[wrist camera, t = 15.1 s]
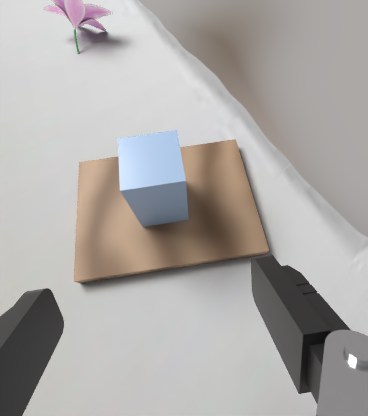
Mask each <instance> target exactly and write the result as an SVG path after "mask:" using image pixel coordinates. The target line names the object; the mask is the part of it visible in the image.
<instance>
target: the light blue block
mask: <svg viewBox="0 0 368 416" xmlns="http://www.w3.org/2000/svg"><path fill="white" fill-rule="evenodd" d="M118 157H119V181H120V192H121V193H122V195H123V197H124V198H125V200H126V201H127V203H128V205H129V206H130V208H131V209H132V211H133V213H134V214H135V216H136V217H137V219H138V221H139V222H140V224H141V225H142V227H146V226H153V225H159V224H165V223H172V222H178V221H185V220H189V218H188V204H187V190H186V179H185V173H184V168H183V162H182V156H181V151H180V145H179V139H178V134H177V130H174V131H167V132H160V133H153V134H147V135H140V136H133V137H126V138H120V139H118Z"/></svg>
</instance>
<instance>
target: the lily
mask: <svg viewBox="0 0 368 416" xmlns="http://www.w3.org/2000/svg"><path fill="white" fill-rule="evenodd" d="M52 1H53V2H54V3H55V5H49V6H47V7H45V8H44V10H46V11H50V12H54V13H57V14H61V15H64V16H66V17H67V18H68V19H69V21H70V22H71V23H72V25H73V27H74V36H75V43H76V48H77V52H78V54H79V49H78V45H77V39H76V27H77V26H78V27H81V26H83V25H84V24H89V25H91V26H94V27H96V28H98V29H101V30H103V31H105V32H107V31H106V29H105V28H104V27H103V26H102V25H101V24H100V23H99V22H98V21H96V20H95V19H98V18H100V17H102V16H106V15H111V14H113V13H112V12H111V11H109V10H107V9H105V8H102V7H100V6H97V5H93V4H83V2H82V1H81V0H52Z"/></svg>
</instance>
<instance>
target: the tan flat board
mask: <svg viewBox="0 0 368 416" xmlns="http://www.w3.org/2000/svg"><path fill="white" fill-rule="evenodd" d="M180 151H181V156H182V162H183V168H184V173H185V179H186V190H187V204H188V218H189V220H185V221H178V222H172V223H165V224H159V225H153V226H146V227H142V225H141V224H140V222H139V221H138V219H137V217H136V216H135V214H134V213H133V211H132V209H131V208H130V206H129V205H128V203H127V201H126V200H125V198H124V197H123V195H122V193H121V192H120V181H119V157H112V158H106V159H99V160H92V161H85V162H79V179H78V201H77V222H76V244H75V265H74V282H78V283H83V282H89V281H96V280H102V279H109V278H115V277H121V276H128V275H134V274H140V273H147V272H153V271H160V270H166V269H172V268H179V267H185V266H191V265H198V264H204V263H210V262H217V261H223V260H230V259H236V258H242V257H249V256H255V255H261V254H266V253H267V252H269V248H268V245H267V241H266V238H265V235H264V231H263V228H262V225H261V222H260V218H259V215H258V212H257V208H256V205H255V202H254V198H253V195H252V192H251V188H250V185H249V182H248V178H247V175H246V172H245V168H244V165H243V162H242V159H241V155H240V152H239V149H238V145H237V142H236V139H235V140H228V141H221V142H214V143H208V144H201V145H194V146H187V147H180Z"/></svg>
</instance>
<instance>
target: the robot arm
mask: <svg viewBox="0 0 368 416" xmlns="http://www.w3.org/2000/svg"><path fill="white" fill-rule="evenodd" d="M251 274H252V292H253V297H254V301H255V303H256V306H257V308H258V310H259V312H260V314H261V316H262V318H263V320H264V322H265V324H266V327H267V329H268V331H269V333H270V335H271V337H272V339H273V341H274V343H275V345H276V347H277V349H278V351H279V353H280V356H281V358H282V360H283V362H284V364H285V366H286V368H287V370H288V372H289V374H290V376H291V378H292V380H293V383H294V385H295V387H296V389H297V391H298V393H299V394H301V393H307V392H311V393H312V395H313V397H314V399H315V401H316V402H317V404H318V405H317V414H316V416H368V336H366V335H364V334H362V333H359V332H355V331H351V330H350V329H349V328H348V326H347V325H346V324H345V323H344V322H343V321H342V320H341V318H340V317H339V316H338V315H337V314H336V313H335V312H334V310H333V309H332V308H331V307H330V306H329V305H328V304H327V302H326V301H325V300H324V299H323V298H322V297H321V296H320V294H319V293H317V291H316V290H315V289H314V288H313V286H312V285H310V284H309V282H308V281H307V280H306V278H305V277H304V276H303V275H302V274H301V273H300V272H298V271H297V270H295V269H293V268H292V267H290V266H288V265H287V266H280V264H279V263H278V262H277V260H276V259H275V258H274V257H273V255H264V256H258V257H252V259H251ZM63 328H64V320H63V317H62V314H61V312H60V309H59V307H58V305H57V302H56V300H55V298H54V295H53V293H52V291H51V290H50V289H40V290H34V291H27V292H25V293H24V294H23V295H22V296H21V298H20V299H19V300H18V301H17V302H16V304H15V305H14V306H13V307H12V308H10V309H9V310H8V311H7V312H5V313H4V314H3V315H2V316H0V416H22V415H23V413H24V411H25V409H26V407H27V405H28V403H29V401H30V399H31V397H32V395H33V393H34V390H35V388H36V386H37V384H38V382H39V380H40V378H41V376H42V374H43V372H44V370H45V368H46V366H47V364H48V362H49V360H50V358H51V356H52V354H53V352H54V350H55V348H56V346H57V344H58V342H59V339H60V337H61V335H62V333H63Z"/></svg>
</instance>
